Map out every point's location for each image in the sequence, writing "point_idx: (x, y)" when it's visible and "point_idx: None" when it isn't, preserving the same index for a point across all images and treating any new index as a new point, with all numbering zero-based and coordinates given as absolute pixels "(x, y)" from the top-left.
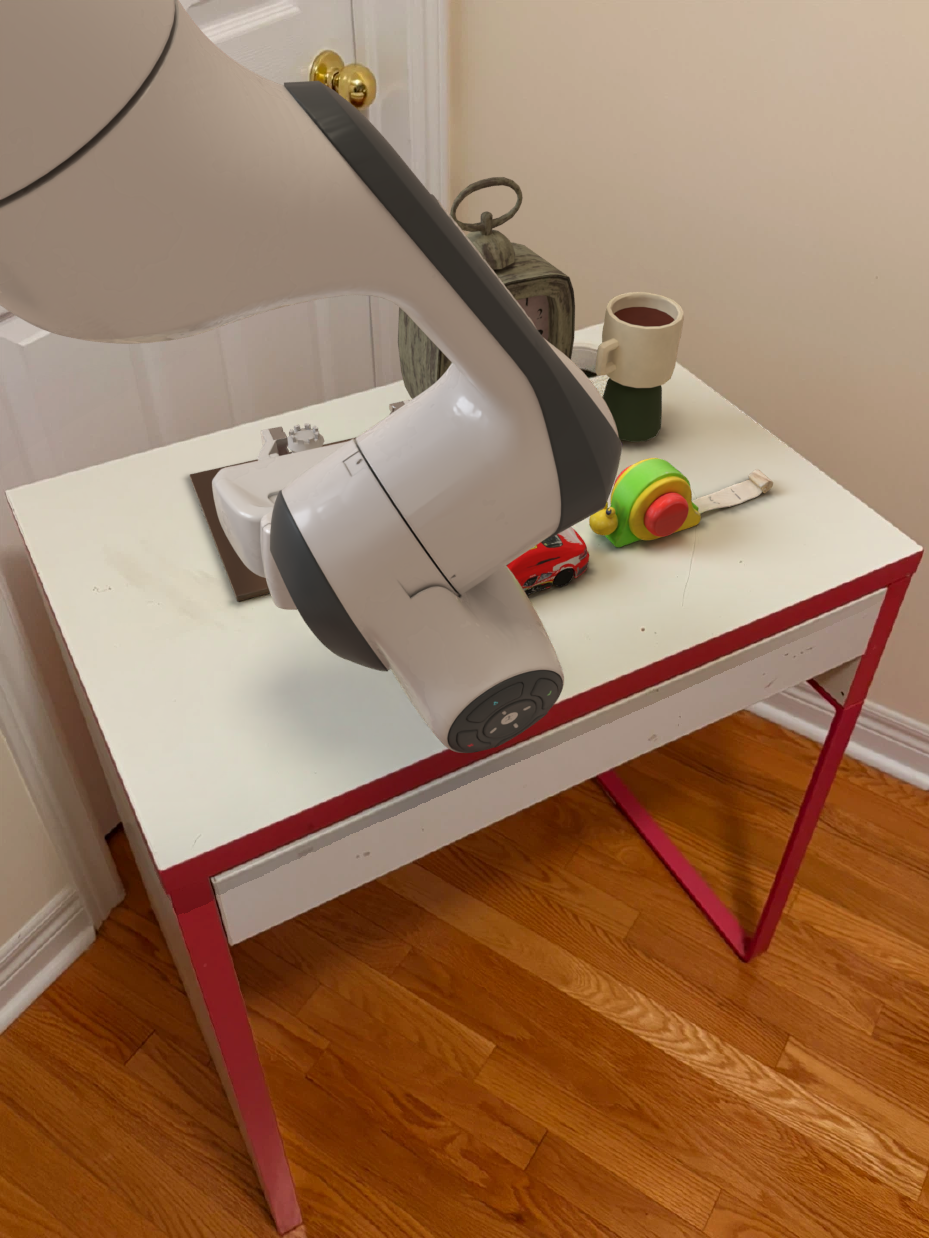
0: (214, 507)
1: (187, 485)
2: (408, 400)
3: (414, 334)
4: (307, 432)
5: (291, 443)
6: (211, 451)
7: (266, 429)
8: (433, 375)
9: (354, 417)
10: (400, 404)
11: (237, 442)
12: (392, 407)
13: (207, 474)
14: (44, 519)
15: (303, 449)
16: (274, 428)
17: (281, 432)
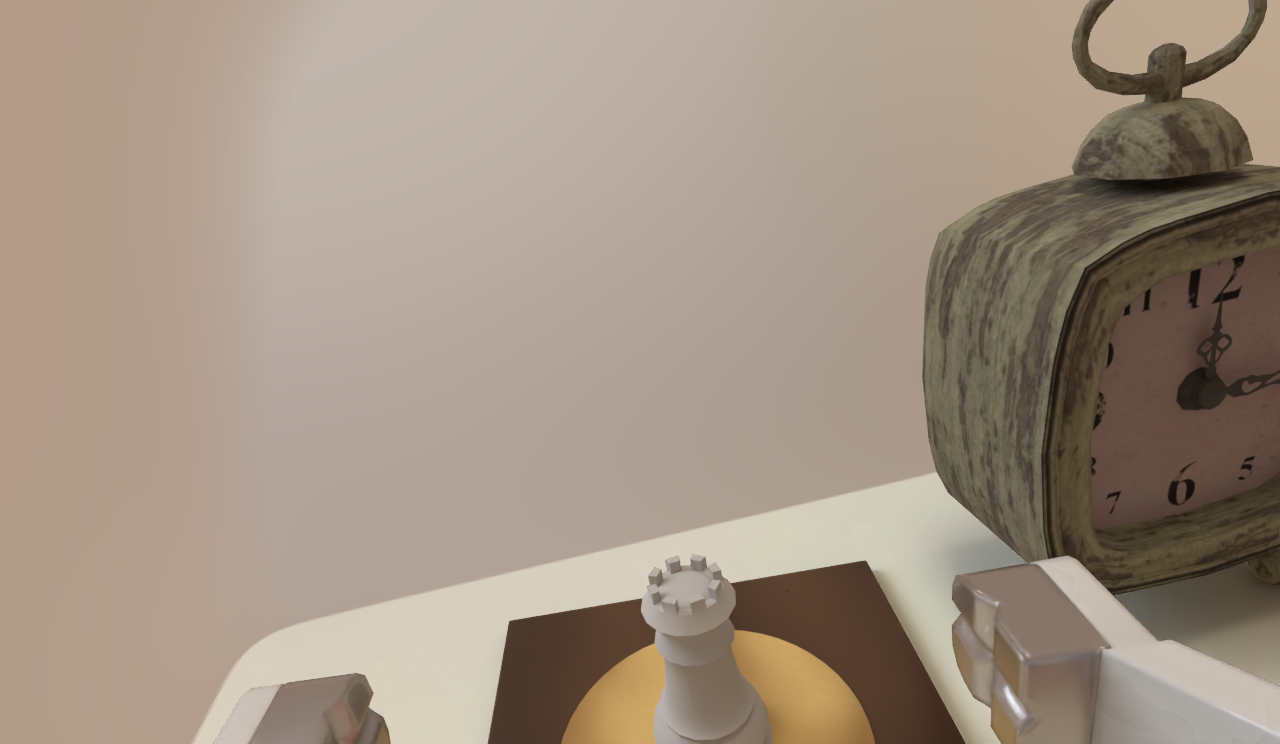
0: (515, 711)
1: (501, 642)
2: (1072, 561)
3: (968, 351)
4: (694, 578)
5: (650, 606)
6: (570, 573)
7: (268, 689)
8: (1028, 445)
9: (831, 522)
10: (1028, 585)
11: (618, 558)
12: (978, 600)
13: (538, 624)
14: (246, 689)
15: (676, 627)
16: (306, 687)
17: (314, 724)
